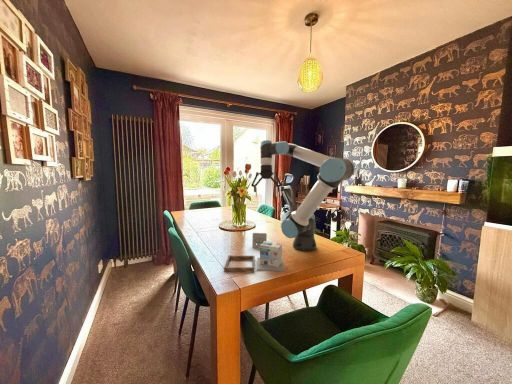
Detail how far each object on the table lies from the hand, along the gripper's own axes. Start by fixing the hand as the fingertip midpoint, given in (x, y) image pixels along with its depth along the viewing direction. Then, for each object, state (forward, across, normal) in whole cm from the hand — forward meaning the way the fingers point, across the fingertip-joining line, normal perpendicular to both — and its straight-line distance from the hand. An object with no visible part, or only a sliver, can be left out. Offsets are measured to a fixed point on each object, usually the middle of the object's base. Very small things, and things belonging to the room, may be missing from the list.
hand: (266, 197), depth 141 cm
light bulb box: (+34, 0, +27) cm, 44 cm away
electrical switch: (+33, +5, +2) cm, 33 cm away
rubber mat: (+34, 0, +28) cm, 44 cm away
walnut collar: (+34, +16, +28) cm, 47 cm away
